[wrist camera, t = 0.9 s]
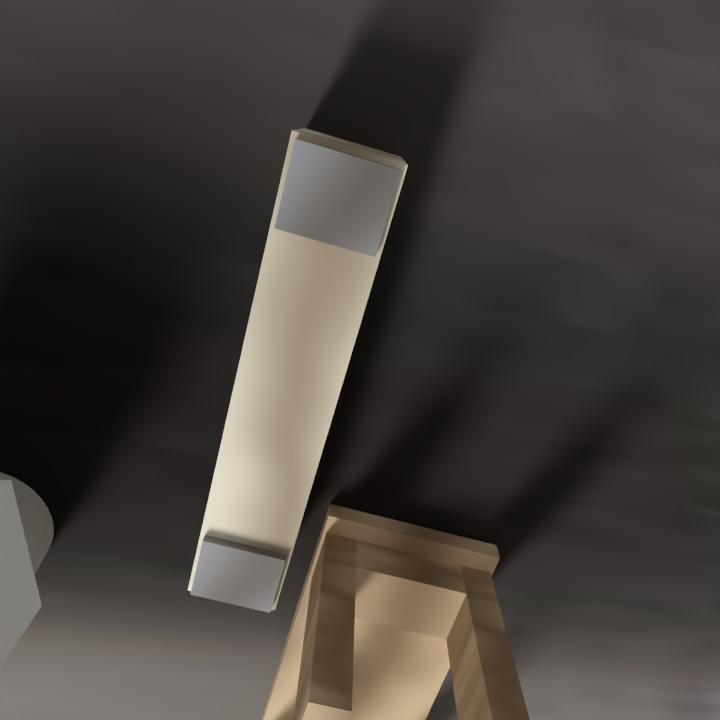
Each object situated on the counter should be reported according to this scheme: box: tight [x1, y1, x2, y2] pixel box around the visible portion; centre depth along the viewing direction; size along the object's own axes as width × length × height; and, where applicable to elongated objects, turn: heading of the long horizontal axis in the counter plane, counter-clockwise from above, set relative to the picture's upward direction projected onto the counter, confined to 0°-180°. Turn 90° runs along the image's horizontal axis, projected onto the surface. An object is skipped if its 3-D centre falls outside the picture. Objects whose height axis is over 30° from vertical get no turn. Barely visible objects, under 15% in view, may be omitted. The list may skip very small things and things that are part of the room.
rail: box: [188, 128, 408, 613], centre depth 26 cm, size 4×20×5 cm, turn 164°
